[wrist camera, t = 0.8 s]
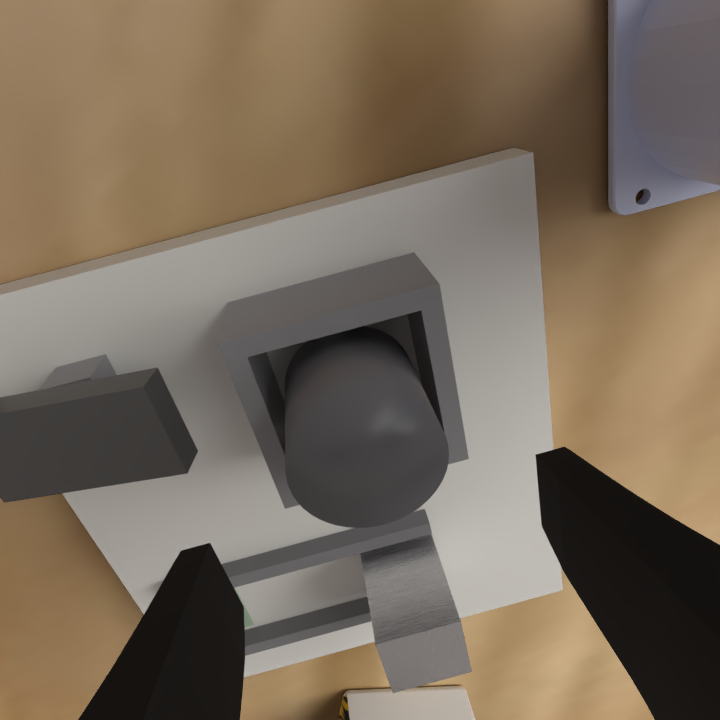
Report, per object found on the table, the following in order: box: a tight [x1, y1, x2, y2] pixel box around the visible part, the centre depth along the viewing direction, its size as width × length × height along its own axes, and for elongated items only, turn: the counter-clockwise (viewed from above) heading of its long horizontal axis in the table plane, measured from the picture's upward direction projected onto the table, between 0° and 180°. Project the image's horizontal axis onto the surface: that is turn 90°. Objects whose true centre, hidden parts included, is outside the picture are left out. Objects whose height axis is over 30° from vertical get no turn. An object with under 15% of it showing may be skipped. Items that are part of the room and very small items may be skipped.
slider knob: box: [360, 534, 472, 693], centre depth 20 cm, size 3×3×4 cm
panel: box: [0, 148, 563, 677], centre depth 19 cm, size 18×20×4 cm
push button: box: [285, 326, 449, 528], centre depth 14 cm, size 4×4×4 cm
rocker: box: [0, 367, 198, 502], centre depth 15 cm, size 6×3×1 cm, turn 103°
